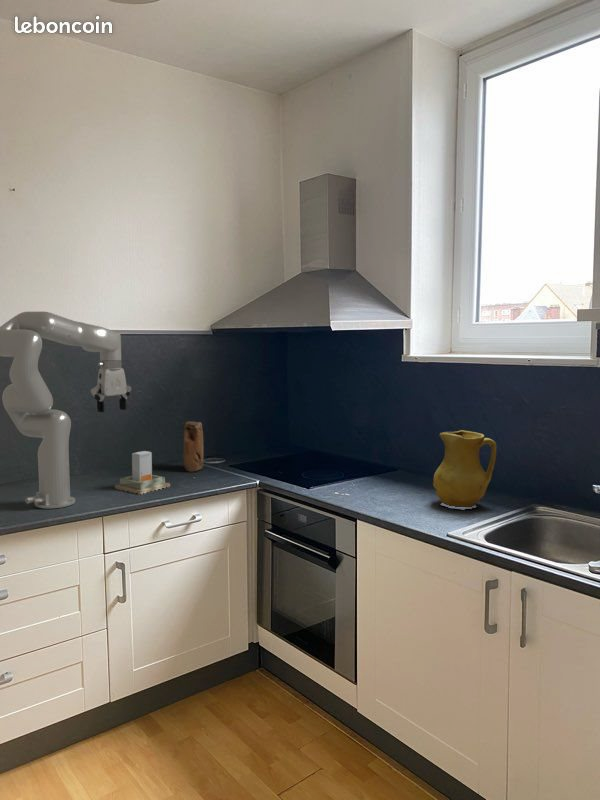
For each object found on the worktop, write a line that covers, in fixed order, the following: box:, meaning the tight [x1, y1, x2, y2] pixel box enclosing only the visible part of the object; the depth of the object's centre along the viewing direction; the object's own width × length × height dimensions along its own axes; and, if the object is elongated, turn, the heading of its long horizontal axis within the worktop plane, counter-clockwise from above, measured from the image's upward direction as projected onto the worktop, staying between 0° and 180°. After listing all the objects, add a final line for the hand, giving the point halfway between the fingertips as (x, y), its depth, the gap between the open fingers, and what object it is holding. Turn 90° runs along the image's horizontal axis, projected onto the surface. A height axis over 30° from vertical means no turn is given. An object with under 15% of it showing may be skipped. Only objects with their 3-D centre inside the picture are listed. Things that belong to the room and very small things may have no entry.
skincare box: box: [131, 450, 153, 482], centre depth 230 cm, size 6×4×12 cm
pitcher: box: [432, 429, 497, 507], centre depth 207 cm, size 17×19×25 cm
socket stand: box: [114, 474, 171, 495], centre depth 231 cm, size 14×14×4 cm
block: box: [183, 421, 204, 473], centre depth 261 cm, size 11×8×20 cm
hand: (112, 410), depth 235 cm, fingers open, 9 cm apart
